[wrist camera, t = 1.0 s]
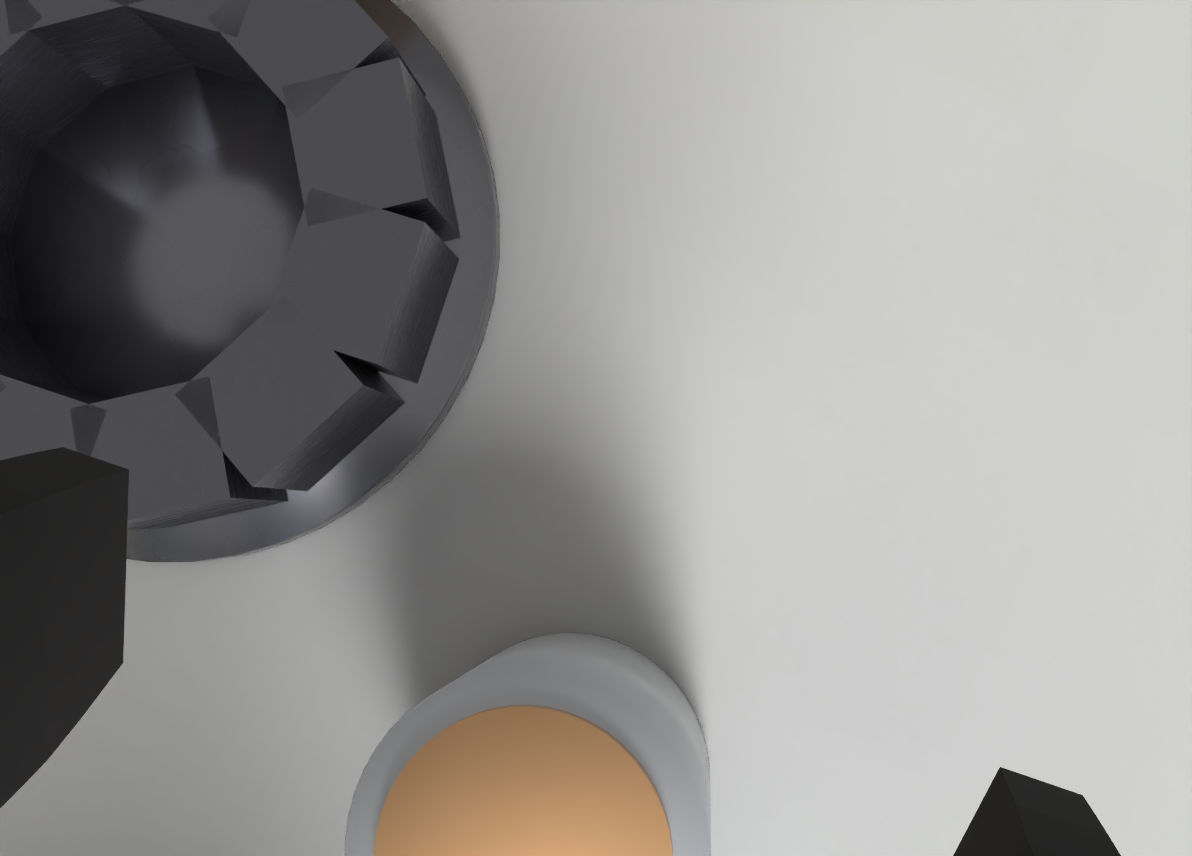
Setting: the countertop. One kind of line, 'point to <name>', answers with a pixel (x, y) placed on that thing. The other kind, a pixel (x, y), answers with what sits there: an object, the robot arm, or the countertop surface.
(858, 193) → the countertop surface
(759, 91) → the countertop surface
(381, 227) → the toothed ring bowl
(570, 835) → the cup
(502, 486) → the countertop surface
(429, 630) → the countertop surface
